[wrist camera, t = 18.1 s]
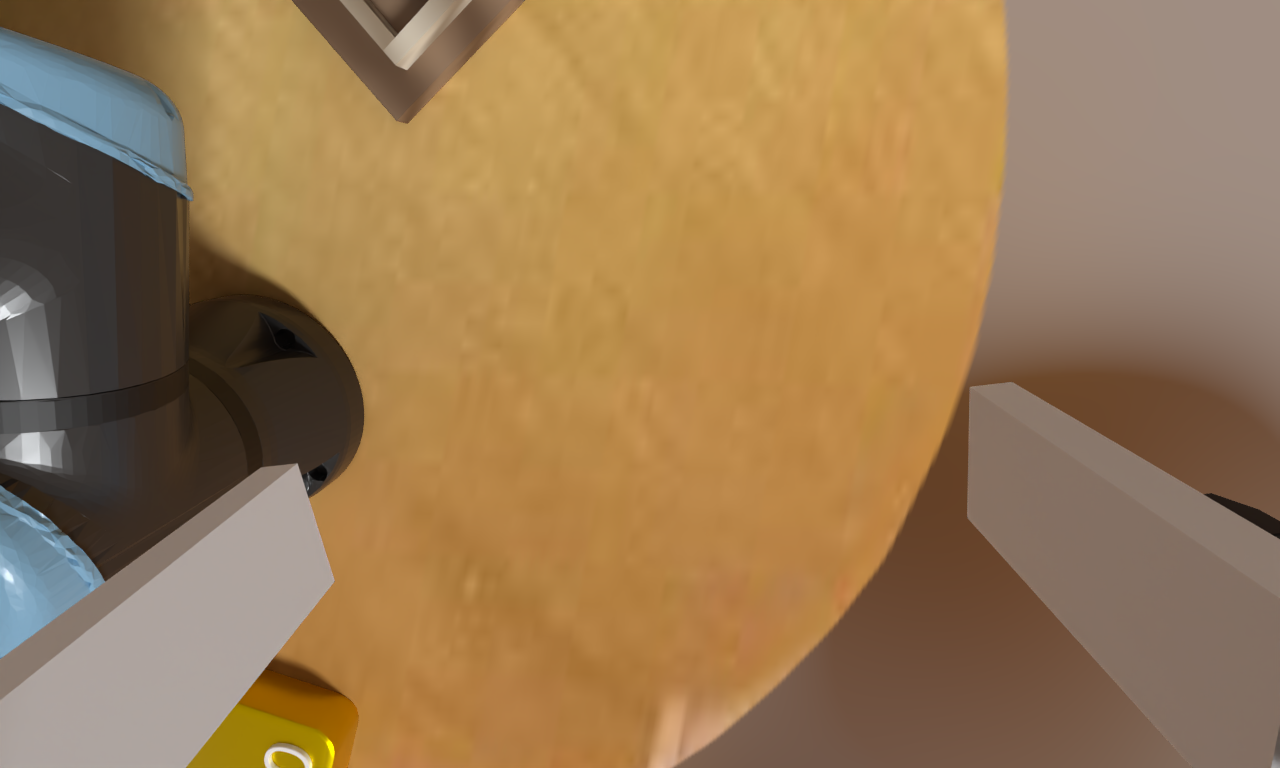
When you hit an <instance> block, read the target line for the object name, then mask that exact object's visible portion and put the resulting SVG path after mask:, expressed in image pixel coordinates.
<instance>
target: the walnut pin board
mask: <svg viewBox="0 0 1280 768" xmlns="http://www.w3.org/2000/svg"><path fill="white" fill-rule="evenodd" d="M292 1H293V2H294V4H295V5H296V6H297V7H298V8H299V9H300V10H301V12H302V13H303V14H304V15H305V16H306V17H307V18H308V20H309V21H310V22H311V23H312V24H313V25H314V27H315V28H316V29H317V30H318V31H319V32H320V33H321V35H322V36H323V37H324V38H325V39H326V40H327V41H328V43H329V44H330V45H331V46H332V47H333V48H334V50H335V51H336V52H337V53H338V54H339V55H340V56H341V58H342V59H343V60H344V61H345V62H346V63H347V64H348V66H349V67H350V68H351V69H352V70H353V71H354V73H355V74H356V75H357V76H358V77H359V78H360V79H361V81H362V82H363V83H364V84H365V85H366V86H367V87H368V89H369V90H370V91H371V92H372V93H373V94H374V95H375V97H376V98H377V99H378V100H379V101H380V102H381V104H382V105H383V106H384V107H385V108H386V109H387V110H388V112H389V113H390V114H391V115H392V116H393V117H394V118H395V120H396V121H399V122H403V123H408V122H409V121H410V120H411V119H412V118H413V117H414V116H415V115H416V114H417V113H418V112H419V111H420V110H421V109H422V108H423V107H424V106H425V105H426V104H427V102H428V101H429V100H430V99H431V98H432V97H433V96H434V95H435V94H436V93H437V92H438V91H439V90H440V89H441V88H442V87H443V86H444V85H445V84H446V83H447V82H448V80H449V79H450V78H451V77H452V76H453V75H454V74H455V73H456V72H457V71H458V70H459V69H460V68H461V67H462V66H463V65H464V64H465V63H466V62H467V61H468V60H469V58H470V57H471V56H472V55H473V54H474V53H475V52H476V51H477V50H478V49H479V48H480V47H481V46H482V45H483V44H484V43H485V42H486V41H487V40H488V39H489V38H490V36H491V35H492V34H493V33H494V32H495V31H496V30H497V29H498V28H499V27H500V26H501V25H502V24H503V23H504V22H505V21H506V20H507V19H508V18H509V17H510V15H511V14H512V13H513V12H514V11H515V10H516V9H517V8H518V7H519V6H520V5H521V4H522V3H523V2H524V1H525V0H292Z"/></svg>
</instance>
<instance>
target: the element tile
mask: <svg viewBox="0 0 1280 768" xmlns="http://www.w3.org/2000/svg"><path fill="white" fill-rule="evenodd" d="M358 717H359V715H358V712H357V708H356V707H355V705H354V704H353V702H352V701H350V700H349V699H348V698H346V697H345V696H343V695H342V694H340V693H337V692H333V691H330V690H327V689H324V688H321V687H318V686H315V685H312V684H309V683H306V682H303V681H300V680H297V679H294V678H291V677H288V676H285V675H282V674H279V673H276V672H273V671H270V670H267V669H264V671H263V672H262V673H261V674H260V676H259V677H258V678H257V679H256V681H255V682H254V683H253V684H252V686H251V687H250V688H249V689H248V691H247V692H246V693H245V694H244V696H243V697H242V698H241V699H240V701H239V702H238V703H237V704H236V706H235V707H234V708H233V709H232V711H231V712H230V713H229V714H228V716H227V717H226V718H225V719H224V721H223V722H222V723H221V724H220V726H219V727H218V728H217V729H216V731H215V732H214V733H213V734H212V736H211V737H210V738H209V739H208V741H207V742H206V743H205V744H204V746H203V747H202V748H201V749H200V751H199V752H198V753H197V754H196V756H195V757H194V758H193V759H192V761H191V762H190V763H189V764H188V766H187V767H186V768H348V764H349V760H350V755H351V751H352V747H353V743H354V738H355V734H356V730H357V725H358Z"/></svg>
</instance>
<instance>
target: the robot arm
mask: <svg viewBox="0 0 1280 768" xmlns="http://www.w3.org/2000/svg"><path fill="white" fill-rule="evenodd" d="M189 201H193V192H192V190H191V188H190V187H189V186H188V185H187V170H186V154H185V138H184V126H183V122H182V118H181V115H180V113H179V111H178V109H177V107H176V106H175V104H174V103H173V102H172V100H171V99H170V98H169V97H168V96H167V95H166V94H165V93H164V92H163V91H162V90H160V89H159V88H158V87H157V86H155V85H154V84H152V83H151V82H149V81H147V80H145V79H143V78H141V77H139V76H137V75H135V74H132V73H130V72H127V71H125V70H122V69H120V68H117V67H115V66H112V65H110V64H107V63H105V62H102V61H99V60H96V59H93V58H91V57H88V56H85V55H82V54H80V53H77V52H74V51H71V50H68V49H65V48H62V47H60V46H57V45H54V44H51V43H48V42H45V41H42V40H39V39H36V38H33V37H30V36H27V35H24V34H21V33H18V32H15V31H12V30H9V29H6V28H3V27H0V768H186V767H187V766H188V764H189V763H190V762H191V761H192V759H193V758H194V757H195V756H196V754H197V753H198V752H199V751H200V749H201V748H202V747H203V746H204V744H205V743H206V742H207V741H208V739H209V738H210V737H211V736H212V734H213V733H214V732H215V731H216V729H217V728H218V727H219V726H220V724H221V723H222V722H223V721H224V719H225V718H226V717H227V716H228V714H229V713H230V712H231V711H232V709H233V708H234V707H235V706H236V704H237V703H238V702H239V701H240V699H241V698H242V697H243V696H244V694H245V693H246V692H247V691H248V689H249V688H250V687H251V686H252V684H253V683H254V682H255V681H256V679H257V678H258V677H259V676H260V674H261V673H262V672H263V671H264V669H265V668H266V667H267V665H268V664H269V663H270V662H271V660H272V659H273V658H274V657H275V655H276V654H277V653H278V652H279V650H280V649H281V648H282V647H283V645H284V644H285V643H286V642H287V640H288V639H289V638H290V637H291V635H292V634H293V633H294V632H295V630H296V629H297V628H298V627H299V625H300V624H301V623H302V622H303V620H304V619H305V618H306V617H307V615H308V614H309V613H310V612H311V610H312V609H313V608H314V607H315V605H316V604H317V603H318V602H319V600H320V599H321V598H322V597H323V595H324V594H325V593H326V592H327V590H328V589H329V588H330V587H331V585H332V584H333V583H334V582H335V581H334V577H333V574H332V571H331V568H330V565H329V562H328V558H327V555H326V552H325V549H324V546H323V543H322V539H321V536H320V533H319V530H318V527H317V524H316V520H315V517H314V514H313V511H312V508H311V505H310V501H309V498H310V497H312V496H314V495H315V494H317V493H318V492H320V491H321V490H322V489H324V488H325V487H326V486H327V485H329V484H330V483H331V482H333V481H334V480H335V479H336V478H338V477H339V476H340V475H341V474H342V473H343V472H344V470H345V469H346V468H347V467H348V465H349V464H350V463H351V461H352V459H353V458H354V456H355V454H356V452H357V449H358V447H359V444H360V441H361V437H362V432H363V425H364V406H363V399H362V393H361V389H360V386H359V382H358V379H357V377H356V374H355V372H354V370H353V368H352V366H351V364H350V362H349V360H348V358H347V357H346V355H345V353H344V352H343V350H342V349H341V348H340V346H339V345H338V344H337V342H336V341H335V340H334V339H333V338H332V337H331V335H330V334H329V333H328V332H327V331H326V330H325V329H324V328H322V327H321V326H320V325H319V324H318V323H317V322H315V321H314V320H313V319H311V318H310V317H309V316H307V315H306V314H304V313H302V312H301V311H299V310H297V309H295V308H293V307H291V306H289V305H287V304H285V303H282V302H280V301H277V300H274V299H270V298H266V297H261V296H254V295H231V296H225V297H220V298H216V299H211V300H206V301H202V302H198V303H195V304H192V305H189ZM968 456H969V459H968V505H967V518H968V519H969V520H970V521H971V522H972V523H973V525H974V526H975V527H976V528H977V529H978V530H979V531H980V532H981V533H982V534H983V536H984V537H985V538H986V539H987V540H988V541H989V542H990V543H991V545H992V546H993V547H994V548H995V549H996V550H997V551H998V552H999V553H1000V555H1001V556H1002V557H1003V558H1004V559H1005V560H1006V561H1007V562H1008V563H1009V564H1010V566H1011V567H1012V568H1013V569H1014V570H1015V571H1016V572H1017V573H1018V575H1019V576H1020V577H1021V578H1022V579H1023V580H1024V581H1025V582H1026V583H1027V584H1028V586H1029V587H1030V588H1031V589H1032V590H1033V591H1034V592H1035V594H1036V595H1037V596H1038V597H1039V598H1040V599H1041V600H1042V601H1043V602H1044V603H1045V605H1046V606H1047V607H1048V608H1049V609H1050V610H1051V611H1052V612H1053V614H1054V615H1055V616H1056V617H1057V618H1058V619H1059V620H1060V621H1061V622H1062V624H1063V625H1064V626H1065V627H1066V628H1067V629H1068V630H1069V631H1070V632H1071V634H1072V635H1073V636H1074V637H1075V638H1076V639H1077V640H1078V641H1079V642H1080V644H1081V645H1082V646H1083V647H1084V648H1085V649H1086V650H1087V651H1088V652H1089V654H1090V655H1091V656H1092V657H1093V658H1094V659H1095V660H1096V661H1097V662H1098V664H1099V665H1100V666H1101V667H1102V668H1103V669H1104V670H1105V671H1106V672H1107V674H1108V675H1109V676H1110V677H1111V678H1112V679H1113V680H1114V681H1115V682H1116V684H1117V685H1118V686H1119V687H1120V688H1121V689H1122V690H1123V691H1124V692H1125V694H1126V695H1127V696H1128V697H1129V698H1130V699H1131V700H1132V701H1133V702H1134V704H1135V705H1136V706H1137V707H1138V708H1139V709H1140V710H1141V711H1142V712H1143V714H1144V715H1145V716H1146V717H1147V718H1148V719H1149V720H1150V721H1151V722H1152V724H1153V725H1154V726H1155V727H1156V728H1157V729H1158V730H1159V731H1160V732H1161V734H1162V735H1163V736H1164V737H1165V738H1166V739H1167V740H1168V741H1169V743H1170V744H1171V745H1172V746H1173V747H1174V748H1175V749H1176V750H1177V751H1178V752H1179V754H1180V755H1181V756H1182V757H1183V758H1184V759H1185V760H1186V761H1187V763H1188V764H1189V765H1190V766H1191V767H1192V768H1280V521H1278V520H1277V519H1275V518H1273V517H1271V516H1270V515H1268V514H1266V513H1264V512H1262V511H1260V510H1258V509H1255V508H1253V507H1250V506H1247V505H1244V504H1241V503H1238V502H1235V501H1232V500H1229V499H1226V498H1223V497H1221V496H1218V495H1214V494H1212V493H1210V494H1201V493H1200V492H1198V491H1197V490H1195V489H1193V488H1191V487H1190V486H1188V485H1186V484H1185V483H1183V482H1181V481H1180V480H1178V479H1176V478H1174V477H1173V476H1171V475H1169V474H1168V473H1166V472H1164V471H1162V470H1161V469H1159V468H1157V467H1155V466H1154V465H1152V464H1150V463H1149V462H1147V461H1146V460H1144V459H1142V458H1140V457H1139V456H1137V455H1135V454H1134V453H1132V452H1130V451H1128V450H1126V449H1125V448H1123V447H1122V446H1120V445H1118V444H1117V443H1115V442H1113V441H1111V440H1110V439H1108V438H1106V437H1105V436H1103V435H1101V434H1100V433H1098V432H1096V431H1094V430H1093V429H1090V428H1089V427H1087V426H1086V425H1084V424H1082V423H1081V422H1079V421H1077V420H1076V419H1074V418H1072V417H1071V416H1069V415H1067V414H1065V413H1064V412H1062V411H1060V410H1058V409H1057V408H1055V407H1054V406H1052V405H1050V404H1048V403H1047V402H1045V401H1043V400H1042V399H1040V398H1038V397H1037V396H1035V395H1033V394H1031V393H1030V392H1028V391H1026V390H1024V389H1023V388H1021V387H1019V386H1018V385H1016V384H1014V383H1013V382H1009V383H1000V384H991V385H982V386H974V387H970V404H969V454H968Z"/></svg>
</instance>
